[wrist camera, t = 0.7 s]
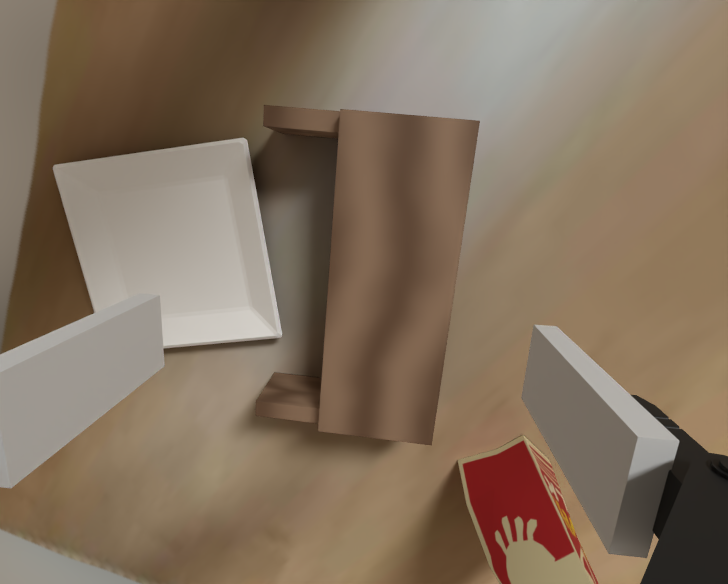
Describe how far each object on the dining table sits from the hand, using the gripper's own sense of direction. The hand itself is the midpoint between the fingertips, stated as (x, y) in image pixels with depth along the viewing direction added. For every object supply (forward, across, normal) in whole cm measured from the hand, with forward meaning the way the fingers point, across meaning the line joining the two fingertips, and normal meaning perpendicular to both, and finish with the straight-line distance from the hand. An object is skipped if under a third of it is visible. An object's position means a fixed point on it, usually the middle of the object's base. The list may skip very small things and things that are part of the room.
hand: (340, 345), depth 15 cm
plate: (+27, -19, -2) cm, 33 cm away
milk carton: (+27, +16, -24) cm, 40 cm away
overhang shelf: (+26, -1, -3) cm, 27 cm away
